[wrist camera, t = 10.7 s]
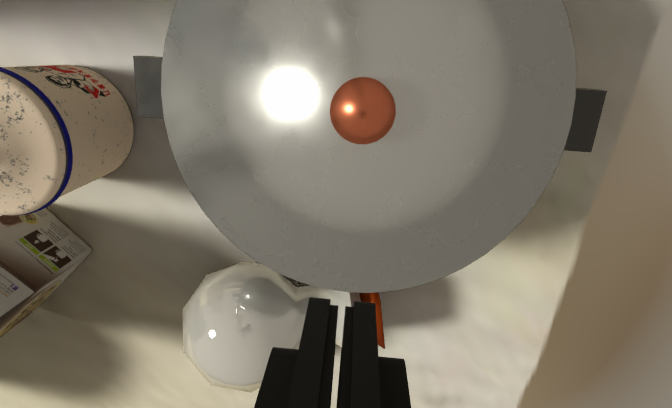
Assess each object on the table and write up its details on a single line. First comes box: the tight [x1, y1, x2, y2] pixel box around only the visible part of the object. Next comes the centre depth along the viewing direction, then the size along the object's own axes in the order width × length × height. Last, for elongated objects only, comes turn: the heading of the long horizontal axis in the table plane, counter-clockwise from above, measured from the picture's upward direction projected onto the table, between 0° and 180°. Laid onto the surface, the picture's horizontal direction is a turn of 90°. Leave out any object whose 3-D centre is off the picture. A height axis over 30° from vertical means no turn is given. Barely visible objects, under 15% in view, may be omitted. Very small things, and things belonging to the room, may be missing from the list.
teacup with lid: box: [0, 65, 134, 215], centre depth 29 cm, size 12×9×12 cm
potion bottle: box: [183, 262, 385, 392], centre depth 34 cm, size 9×10×15 cm
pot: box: [133, 56, 607, 152], centre depth 27 cm, size 21×25×10 cm
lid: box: [161, 0, 576, 293], centre depth 22 cm, size 20×20×3 cm
